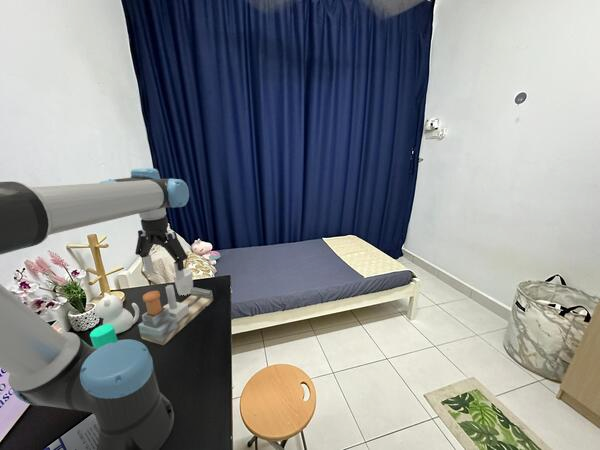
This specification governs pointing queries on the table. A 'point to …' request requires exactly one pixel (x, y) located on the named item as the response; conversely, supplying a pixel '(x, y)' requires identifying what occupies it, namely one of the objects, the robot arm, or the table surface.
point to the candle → (103, 335)
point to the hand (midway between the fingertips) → (164, 275)
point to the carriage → (175, 305)
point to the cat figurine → (115, 313)
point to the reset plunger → (152, 302)
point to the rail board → (185, 319)
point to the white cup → (184, 282)
